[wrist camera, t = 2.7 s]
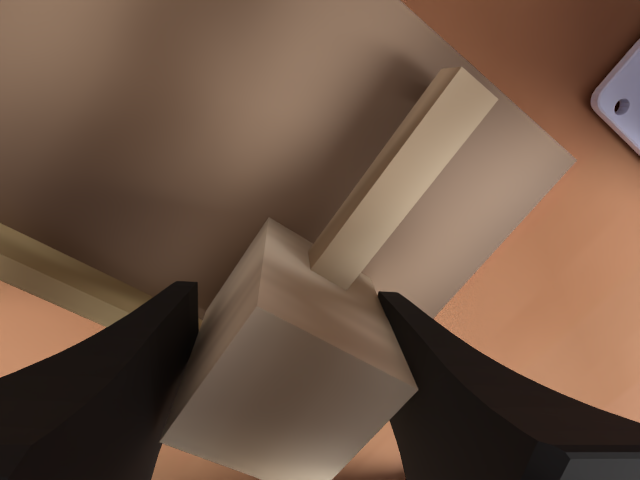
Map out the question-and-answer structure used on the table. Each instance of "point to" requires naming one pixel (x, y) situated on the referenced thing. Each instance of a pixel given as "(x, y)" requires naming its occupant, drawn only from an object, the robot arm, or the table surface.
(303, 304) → the wooden mallet
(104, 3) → the walnut board
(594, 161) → the table surface
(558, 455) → the robot arm
